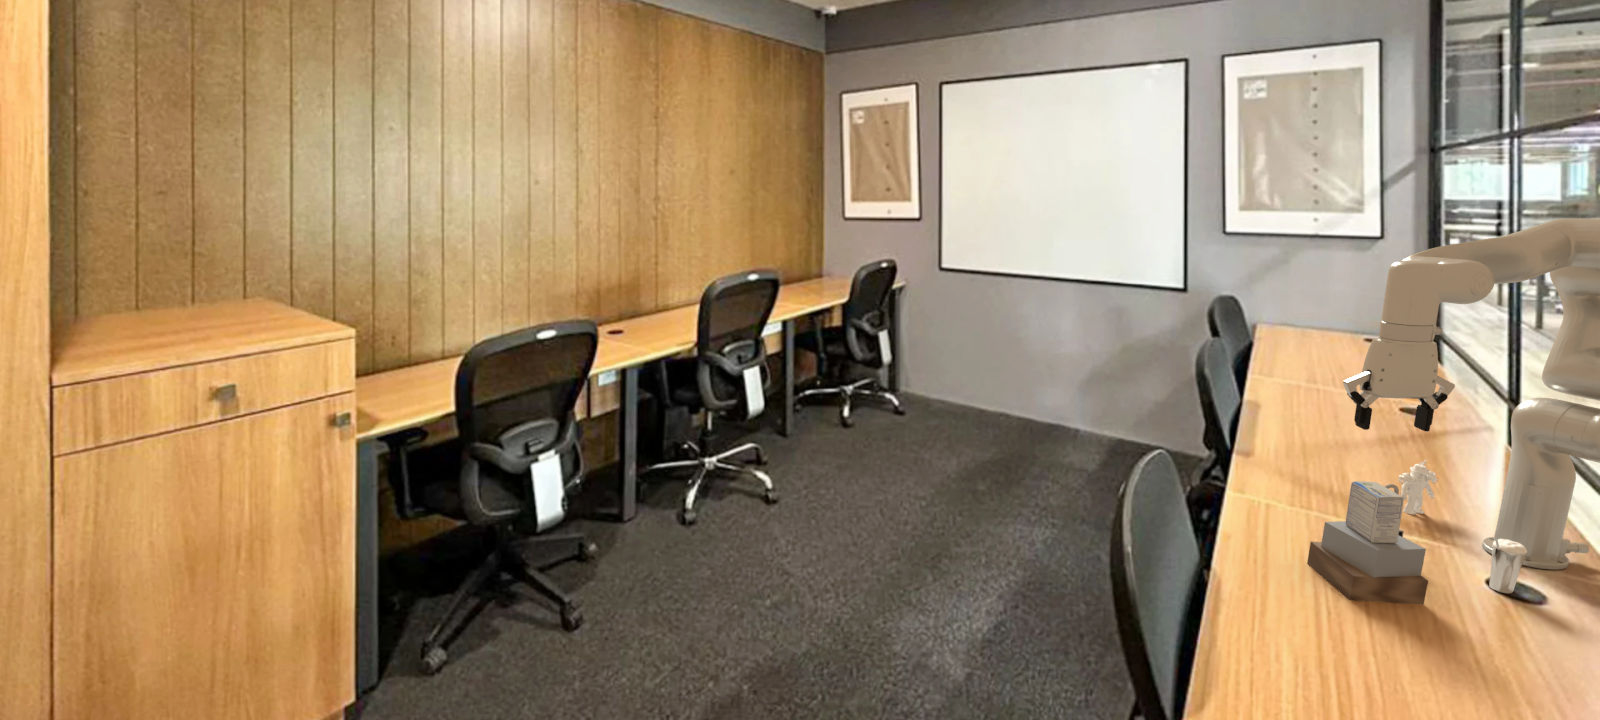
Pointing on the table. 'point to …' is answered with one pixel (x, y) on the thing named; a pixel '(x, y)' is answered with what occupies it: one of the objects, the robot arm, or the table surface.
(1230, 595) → the table surface
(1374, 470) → the table surface
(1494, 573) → the milkshake
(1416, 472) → the blocky character figurine
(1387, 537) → the medicine box
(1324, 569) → the lower block
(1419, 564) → the upper block
